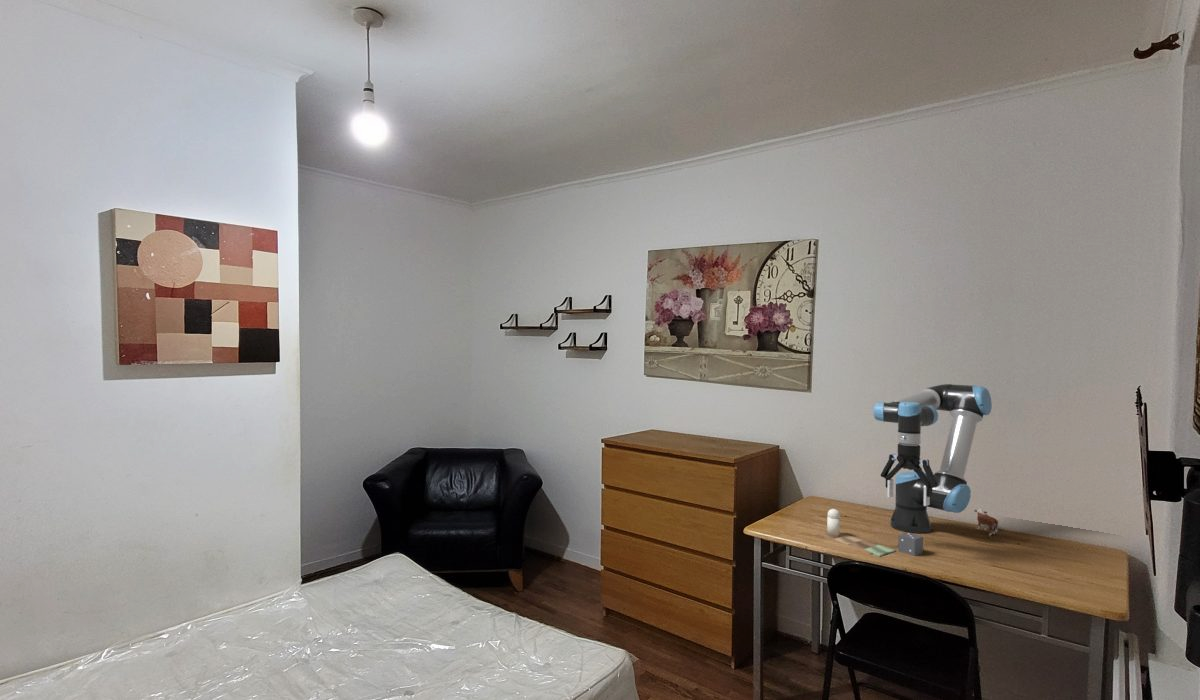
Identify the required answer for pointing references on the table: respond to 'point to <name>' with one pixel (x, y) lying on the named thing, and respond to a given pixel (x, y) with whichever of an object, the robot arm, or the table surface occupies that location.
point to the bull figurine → (986, 521)
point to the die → (910, 544)
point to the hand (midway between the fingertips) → (907, 501)
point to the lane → (861, 544)
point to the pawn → (833, 523)
